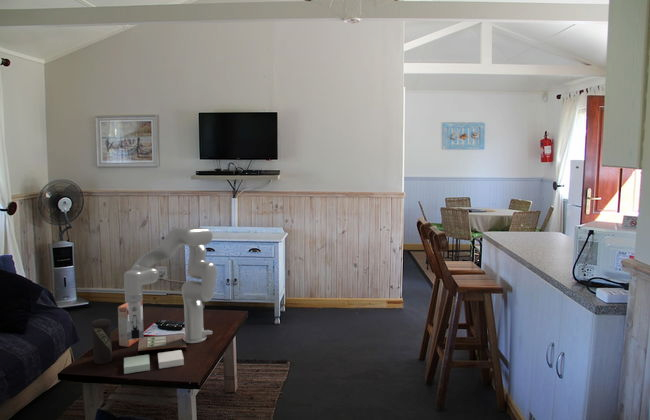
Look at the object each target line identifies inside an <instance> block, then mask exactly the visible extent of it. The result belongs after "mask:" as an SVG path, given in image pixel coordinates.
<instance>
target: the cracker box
mask: <svg viewBox="0 0 650 420" xmlns="http://www.w3.org/2000/svg"><path fill="white" fill-rule="evenodd" d="M140 303H141V319H143V320H144V312H143V310H144V309H143V300H142V301H141V302H140ZM117 320H118V325H117V326H118V345H119V347H128V348H129V347H131V346H132V345H133V344H135V343H136V342H138V341H139V339H131V340H127V321H130V319H129V310H128V303H126V302H125V303H123V304H121V305H119V306H118V307H117Z"/></svg>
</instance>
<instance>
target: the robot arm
mask: <svg viewBox="0 0 650 420" xmlns="http://www.w3.org/2000/svg"><path fill="white" fill-rule="evenodd" d="M213 235H214V234H213V232H212V231H211V229H210V228H209V229H208V228H206V227H197V226H186V227H174V228H171V230H170V231H169V232H168V233H167V234H166V236H165V237H164V238H163V240H162V241H161V242H160V243H159V245H157V247H155V248H153V249H152V250H149V251H148V252H146V253H145V254H143V255H142V256H140V257H139V258H138V259H137V261H135V263H134V264H133V265H132V267H131V268H130V270H126V271H124V274H123V281H124V283H123V285H124V286H123V288H124V302H125V303H128V310H129V319H130V324H132V330H131V332H132V339H135V338H139V329H138V323H141V303H140V302H141V301H142V302H143V298H144V297H143V286H144V285H151V284H154V283H156V282H158V280H159V278H160V272H159V271H158V269H156V268H154V267H152V266H153V265H154V264H159V263H161V262H165V261H166V262H167V261H168V260H171V259H172V258H173V256H174V255H175V254H176V253H177V251H179V249H180V248H181V246H187V247H188V249H189V255H188V261H187V262H188V263H187V271H186V272H187V276H188V277H190V278H192V279H197V280H187V281H185V282H184V283H182V286H181V296H182V300H183V309H184V310H183V312H184V313H183V314H184V335H183V336H185V341H186V342H185V343H186V344H197V343H198V344H199V343H202V342H204V341H205V340H206V339H207V335H213V330H210V329H204V307H203V302H209V301H211V300H212V298H213V296H214V293H215V290H216V289H215V288H216V281H217V275H218V274H217V273H218V272H217V271H218V270H217V266H216V265H215V264H214V263H213V262H211V261H206V259H207V258H206V257H207V248H206V245H209V244H210V243H211V242H212V241H213ZM199 280H201V281H199ZM132 321H133V322H132ZM136 322H137V323H136ZM136 324H137V325H136ZM133 325H134V326H133Z"/></svg>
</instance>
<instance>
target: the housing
mask: <svg viewBox="0 0 650 420" xmlns="http://www.w3.org/2000/svg"><path fill="white" fill-rule="evenodd" d="M132 322H133V321H132ZM136 323H137V322H136ZM136 325H137V324H136ZM133 326H134V325H133ZM138 329H139V338H141V339H144V334H145V331H144V318H143V319H141V323H138ZM131 330H132V324H130V321H127V340H131V339H132V332H131ZM139 338H135V339H139Z"/></svg>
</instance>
